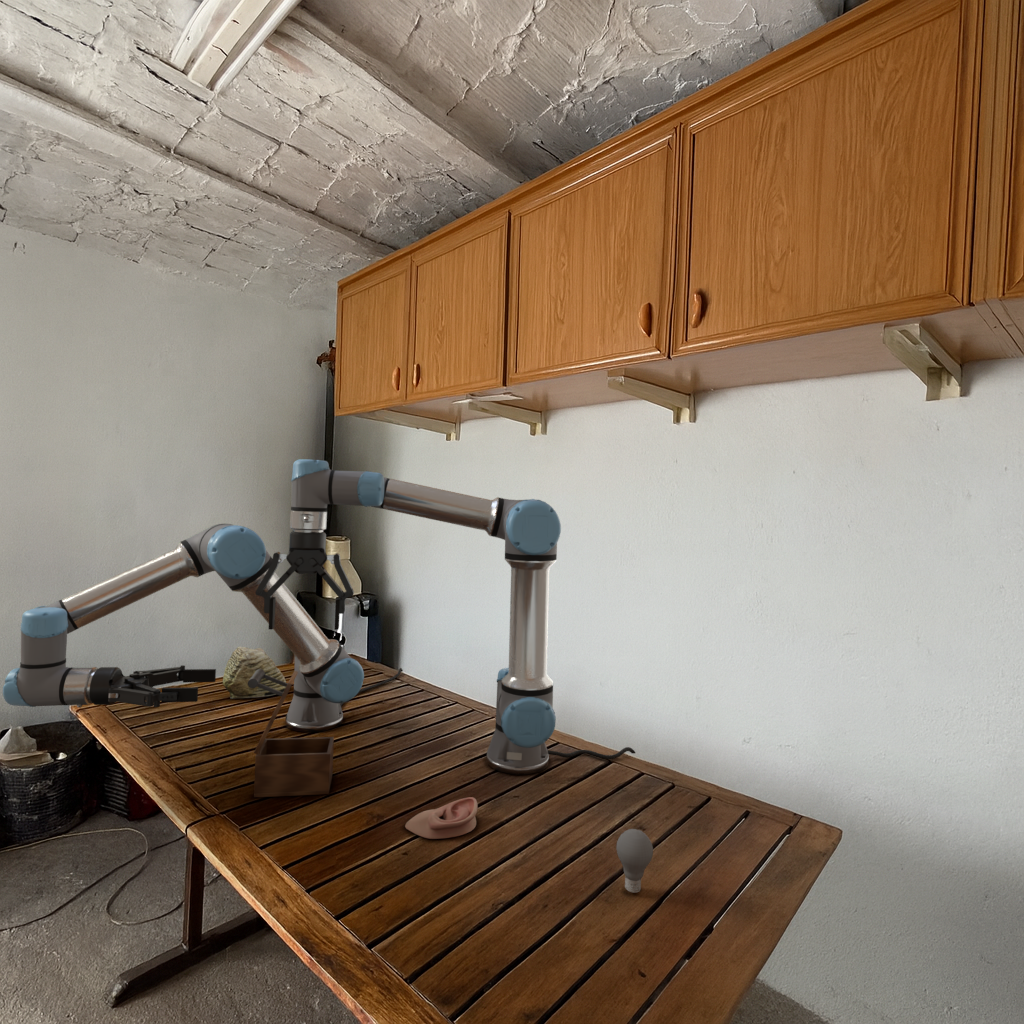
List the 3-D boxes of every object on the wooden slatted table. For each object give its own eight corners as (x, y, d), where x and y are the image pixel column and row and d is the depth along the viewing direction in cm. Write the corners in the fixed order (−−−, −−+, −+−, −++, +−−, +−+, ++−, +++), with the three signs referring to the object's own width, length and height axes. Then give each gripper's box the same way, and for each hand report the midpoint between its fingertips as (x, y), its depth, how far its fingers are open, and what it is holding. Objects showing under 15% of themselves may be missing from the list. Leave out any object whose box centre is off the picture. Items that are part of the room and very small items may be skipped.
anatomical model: (399, 813, 120) (420, 787, 131) (398, 834, 120) (419, 806, 131) (467, 823, 117) (482, 796, 128) (466, 845, 117) (481, 815, 128)
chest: (332, 774, 144) (333, 736, 144) (328, 794, 135) (330, 753, 135) (262, 777, 142) (264, 738, 141) (253, 797, 132) (255, 756, 132)
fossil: (218, 695, 195) (220, 647, 195) (278, 685, 208) (279, 640, 207) (228, 703, 189) (230, 653, 188) (289, 692, 201) (290, 645, 201)
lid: (298, 671, 142) (262, 657, 141) (292, 684, 133) (254, 668, 131) (265, 737, 141) (229, 723, 140) (257, 754, 132) (218, 739, 130)
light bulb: (610, 879, 108) (613, 822, 108) (644, 879, 109) (647, 822, 109) (619, 902, 102) (622, 840, 102) (655, 901, 103) (658, 840, 103)
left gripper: (120, 686, 142) (221, 684, 147) (65, 725, 118) (188, 722, 122) (121, 652, 142) (222, 652, 146) (66, 685, 118) (189, 684, 122)
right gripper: (243, 529, 131) (239, 631, 132) (366, 533, 136) (362, 632, 136) (250, 528, 139) (247, 624, 139) (367, 531, 143) (363, 625, 144)
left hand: (206, 684), depth 134 cm, fingers open, 13 cm apart
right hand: (304, 628), depth 138 cm, fingers open, 13 cm apart
